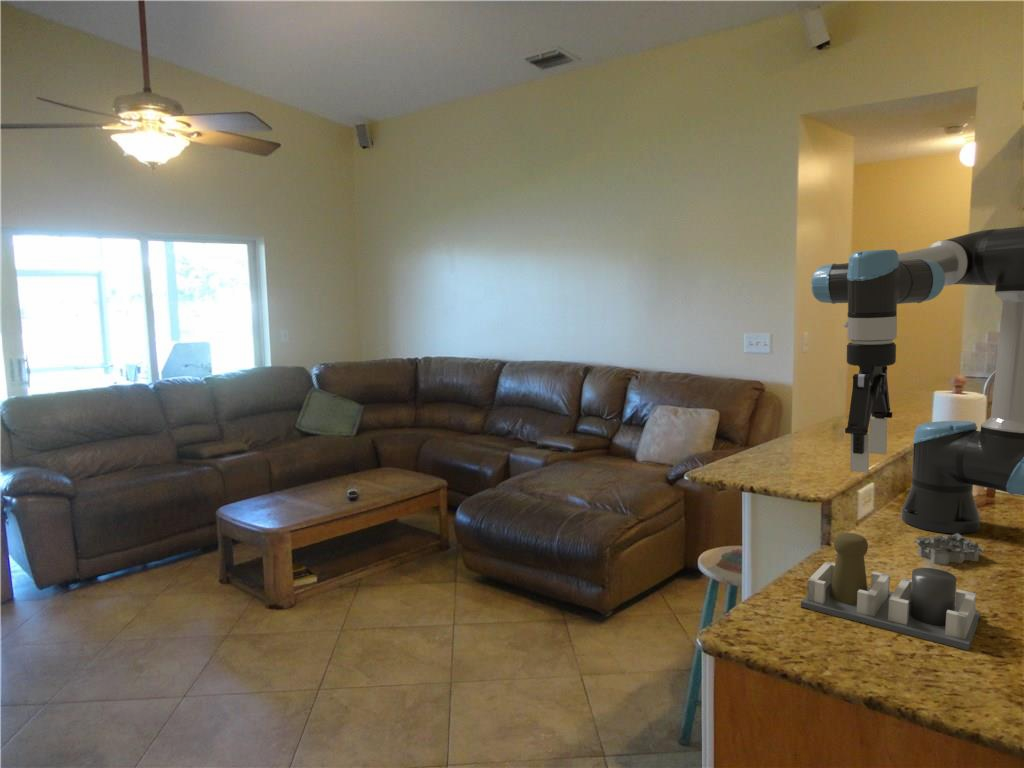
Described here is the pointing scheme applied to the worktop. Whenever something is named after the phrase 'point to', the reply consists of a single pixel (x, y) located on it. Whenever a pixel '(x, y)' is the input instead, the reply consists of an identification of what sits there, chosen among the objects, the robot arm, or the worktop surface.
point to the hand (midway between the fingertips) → (869, 462)
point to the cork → (849, 568)
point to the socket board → (904, 605)
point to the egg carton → (948, 549)
